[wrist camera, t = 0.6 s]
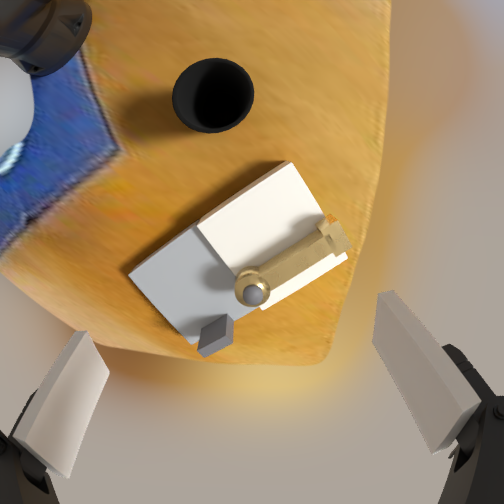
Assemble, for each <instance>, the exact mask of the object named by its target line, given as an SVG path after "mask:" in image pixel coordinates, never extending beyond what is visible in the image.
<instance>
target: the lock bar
mask: <svg viewBox="0 0 504 504" xmlns="http://www.w3.org/2000/svg"><path fill="white" fill-rule="evenodd" d="M315 226H316V227H317V230H316V231H314V232H313V233H311V234H309V235H308V236H306V237H305V238H303V239H302V240H300V241H298V242H297V243H295V244H294V245H292V246H291V247H289V248H287V249H286V250H284V251H283V252H281V253H280V254H278V255H276V256H275V257H273V258H272V259H270V260H268V261H267V262H265V263H264V264H262V265H261V266H259V267H257V266H247V267H244V268H242V269H241V270H240V271H239V272H238V273H237V275H236V277H235V297H236V299H237V300H238V302H239V303H241V304H242V305H244V306H247V307H258V306H260V305H262V304H264V303H265V302H266V301H267V300H268V299H269V296H270V292H271V291H272V290H274V289H275V288H277V287H279V286H280V285H282V284H284V283H285V282H287V281H288V280H290V279H292V278H293V277H295V276H297V275H298V274H300V273H301V272H303V271H305V270H306V269H308V268H309V267H311V266H313V265H314V264H316V263H317V262H319V261H320V260H322V259H324V258H325V257H327V256H328V255H330V254H331V253H333V254H334V256H335V257H338V256H339V255H341V254H342V253H344V252H345V251H347V250H348V249H350V248H351V247H352V245H351V243H350V242H349V240H348V238H347V236H346V234H345V232H344V230H343V229H342V227H341V225H340V223H339V221H338V220H337V219H336V218H335V217H333V216H332V215H331V214H330V215H328V216H326V217H325V218H323V219H322V220H320V221H319V222H317V223H316V224H315ZM252 284H254V285H258V286H259V287H260V288H261V289H262V292H263V299H262V301H261V302H260V303H258V304H256V305H249V304H247V303H246V302H245V301H244V300H243V290H244V288H245V287H246V286H248V285H252Z"/></svg>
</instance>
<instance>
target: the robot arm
mask: <svg viewBox="0 0 504 504" xmlns="http://www.w3.org/2000/svg"><path fill="white" fill-rule="evenodd" d="M91 22H92V11H91V8H90V6H89V5H88V4H87V3H86V2H85V1H83V0H0V57H5V58H10V59H11V60H12V61H13V62H14V63H16V64H17V65H18V66H19V67H20V68H21V69H22V70H23V71H24V72H26V73H28V74H32V75H36V76H44V75H48V74H51V73H53V72H55V71H56V70H58V69H59V68H61V67H62V66H63V65H65V64H66V63H67V62H68V61H69V60H70V59H71V58H72V57H73V56H74V55H75V53H76V52H77V51H78V50H79V48H80V47H81V45H82V44H83V42H84V40H85V39H86V37H87V35H88V32H89V30H90V26H91ZM372 342H373V345H374V346H375V348H376V350H377V351H378V353H379V355H380V357H381V358H382V360H383V362H384V364H385V365H386V367H387V369H388V371H389V373H390V375H391V376H392V378H393V380H394V382H395V384H396V385H397V387H398V389H399V391H400V393H401V395H402V397H403V399H404V400H405V402H406V404H407V406H408V408H409V410H410V412H411V414H412V416H413V418H414V419H415V422H416V423H417V426H418V428H419V430H420V432H421V434H422V436H423V438H424V440H425V442H426V444H427V446H428V448H429V450H430V452H431V454H432V455H433V454H435V453H437V452H439V451H442V450H443V449H445V448H447V447H449V446H450V445H451V444H452V442H453V441H454V440H455V439H456V440H457V441H458V443H459V444H458V445H457V446H456V448H455V449H454V450H453V451H452V452H451V454H450V456H449V457H448V458H452V457H453V455H454V454H455V455H454V459H453V462H452V465H451V468H450V472H449V475H448V478H447V481H446V484H445V487H444V489H443V492H442V494H441V497H440V500H439V502H438V504H504V396H496V395H495V394H494V393H493V391H492V390H491V389H490V387H489V386H488V385H487V384H486V382H485V381H484V379H483V378H482V377H481V375H480V374H479V373H478V372H477V370H476V369H475V368H473V365H472V364H471V363H470V362H469V361H468V360H467V358H466V357H465V355H464V354H463V353H462V352H461V351H460V350H459V349H457V348H456V347H454V346H453V345H451V344H448V345H445V346H443V347H441V346H440V345H439V343H438V342H437V341H436V340H435V338H434V337H433V336H432V335H431V334H430V332H429V331H428V330H427V329H426V327H425V326H424V325H423V324H422V323H421V321H420V320H419V319H418V318H417V317H416V316H415V314H414V313H413V312H412V311H411V310H410V309H409V307H408V306H407V305H406V304H405V303H404V302H403V301H402V299H401V298H400V297H399V296H398V295H397V294H396V293H395V292H394V290H391V291H387V292H382V293H378V300H377V309H376V318H375V325H374V334H373V340H372ZM109 373H110V372H109V370H108V368H107V367H106V365H105V363H104V361H103V360H102V358H101V356H100V354H99V353H98V351H97V349H96V347H95V345H94V343H93V341H92V339H91V337H90V335H89V333H88V331H75V332H74V334H73V335H72V337H71V338H70V340H69V341H68V343H67V344H66V346H65V347H64V349H63V350H62V352H61V354H60V355H59V356H58V358H57V360H56V361H55V362H54V364H53V366H52V367H51V369H50V370H49V372H48V374H47V375H46V377H45V378H44V380H43V382H42V383H41V385H40V387H39V388H38V389H37V390H36V391H35V392H34V393H33V394H32V395H31V396H30V398H29V400H28V401H27V403H26V406H25V407H24V408H23V410H22V413H21V414H20V416H19V417H18V419H17V421H16V423H15V425H14V427H13V429H12V431H11V433H10V435H9V436H8V438H7V437H6V436H5V435H4V434H3V433H2V432H1V430H0V504H59V501H58V498H57V496H56V493H55V490H54V488H53V485H52V482H51V479H50V476H49V475H48V473H47V472H45V471H46V469H47V468H48V469H49V470H51V471H52V472H53V473H55V474H56V475H58V476H61V477H64V478H67V479H69V477H70V474H71V471H72V468H73V465H74V462H75V459H76V456H77V453H78V450H79V448H80V445H81V442H82V439H83V437H84V434H85V431H86V429H87V426H88V423H89V421H90V419H91V416H92V413H93V411H94V408H95V406H96V404H97V401H98V399H99V396H100V394H101V392H102V389H103V387H104V385H105V383H106V380H107V378H108V376H109Z"/></svg>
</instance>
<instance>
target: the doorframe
mask: <svg viewBox="0 0 504 504" xmlns="http://www.w3.org/2000/svg"><path fill="white" fill-rule="evenodd" d="M323 218H325V216H324V214H323V212H322V211H321V209H320V207H319V206H318V204H317V202H316V201H315V199H314V197H313V196H312V194H311V192H310V191H309V189H308V187H307V186H306V184H305V183H304V181H303V179H302V178H301V176H300V175H299V173H298V171H297V170H296V168H295V167H294V165H293V164H292V162H289V161H285V162H283V163H281V164H280V165H278V166H277V167H275V168H274V169H272V170H270V171H269V172H267V173H266V174H264V175H263V176H261V177H260V178H258V179H257V180H255V181H254V182H252V183H251V184H249V185H248V186H246V187H245V188H243V189H242V190H240V191H239V192H237V193H236V194H234V195H233V196H231V197H230V198H228V199H227V200H225V201H224V202H223V203H221V204H220V205H218V206H217V207H215V208H214V209H213V210H211V211H210V212H208V213H207V214H205V215H204V216H203V217H201V219H200V220H199V219H198V220H197V221H196V222H194V223H193V224H191V225H190V226H189V227H187V228H186V229H184V230H183V231H182V232H180V233H179V234H178V235H176V236H175V237H174V238H172V239H171V240H170V241H168V242H167V243H165V244H164V245H163V246H161V247H160V248H159V249H158V250H156V251H155V252H154V253H152V254H151V255H150V256H148V257H147V258H146V259H144V260H143V261H142V262H141V263H139V264H138V265H137V266H135V267H134V269H133V270H132V271H131V272H130V274H129V275H128V276H129V277H130V278H131V279H132V280H133V282H134V283H135V284H136V285H137V286H138V287H139V289H140V290H141V291H142V292H143V293H144V294H145V296H146V297H147V298H148V299H149V300H150V301H151V302H152V303H153V305H154V306H155V307H156V308H157V309H158V310H159V311H160V312H161V313H162V314H163V316H164V317H165V318H166V319H167V320H168V321H169V322H170V323H171V324H172V325H173V326H174V327H175V328H176V329H177V330H178V331H179V332H180V334H181V335H182V336H183V337H184V338H185V339H186V340H187V341H188V342H189V343H190V344H191V345H192V344H194V343H196V342H197V341H199V343H198V348H197V351H198V352H199V353H200V354H201V355H202V356H203V357H204V358H205V357H207V356H209V355H211V354H213V353H215V352H217V351H219V350H221V349H223V348H225V347H226V346H228V345H230V344H232V343H233V325H234V321H235V320H237V319H239V318H241V317H242V316H244V315H246V314H248V313H249V312H251V311H253V310H254V309H256V308H258V307H260V308H261V309H262V310H265V309H266V308H268V307H270V306H271V305H273V304H275V303H276V302H278V301H280V300H282V299H283V298H285V297H287V296H288V295H290V294H292V293H293V292H295V291H297V290H298V289H300V288H301V287H303V286H305V285H306V284H308V283H310V282H311V281H313V280H314V279H316V278H318V277H319V276H321V275H322V274H324V273H326V272H327V271H329V270H330V269H332V268H333V267H335V266H337V265H338V264H340V263H341V262H343V261H344V260H346V259H347V258H348V257H347V255H346V253H345V252H344V253H342V254H341V255H339V256H338V257H335V256H334V254H333V253H331V254H330V255H328V256H327V257H325V258H324V259H322V260H320V261H319V262H317V263H316V264H314V265H313V266H311V267H309V268H308V269H306V270H305V271H303V272H301V273H300V274H298V275H297V276H295V277H293V278H292V279H290V280H288V281H287V282H285V283H284V284H282V285H280V286H279V287H277V288H275V289H274V290H272V291H271V292H270V296H269V299H268V300H267V301H266V302H265V303H264V304H262V305H260V306H258V307H247V306H244V305H242V304H241V303H239V302H238V300H237V299H236V297H235V277H236V275H237V273H238V272H239V271H240V270H241V269H242V268H244V267H247V266H257V267H259V266H261V265H262V264H264V263H265V262H267V261H268V260H270V259H272V258H273V257H275V256H276V255H278V254H280V253H281V252H283V251H284V250H286V249H287V248H289V247H291V246H292V245H294V244H295V243H297V242H298V241H300V240H302V239H303V238H305V237H306V236H308V235H309V234H311V233H313V232H314V231H316V230H317V227H316V226H315V224H316V223H317V222H319V221H320V220H322V219H323ZM262 299H263V292H262V289H261V288H260V287H259V286H258V285H254V284H252V285H248V286H246V287H245V288H244V290H243V300H244V301H245V302H246V303H247V304H249V305H256V304H258V303H260V302H261V301H262Z"/></svg>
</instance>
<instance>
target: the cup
mask: <svg viewBox="0 0 504 504" xmlns="http://www.w3.org/2000/svg"><path fill="white" fill-rule="evenodd" d="M253 101H254V87H253V83H252V81H251V78H250V76H249V75H248V73H247V72H246V71H245V70H244V69H243V68H242V67H241V66H239V65H238V64H236V63H235V62H232V61H230V60H227V59H221V58H210V59H204V60H201V61H198V62H196V63H194V64H192V65H191V66H189V67H188V68H187V69H186V70H184V71H183V72H182V73H181V75H180V76H179V78H178V79H177V81H176V83H175V86H174V88H173V94H172V102H173V108H174V110H175V112H176V115H177V116H178V118H179V119H180V120H181V121H182V123H184V124H185V125H186V126H188V127H189V128H191V129H193V130H196V131H198V132H203V133H219V132H223V131H226V130H229V129H231V128H233V127H234V126H236V125H238V124H239V123H240V122H241V121H242V120H243V119H244V118H245V117H246V116H247V114H248V113H249V111H250V109H251V107H252V104H253Z"/></svg>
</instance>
